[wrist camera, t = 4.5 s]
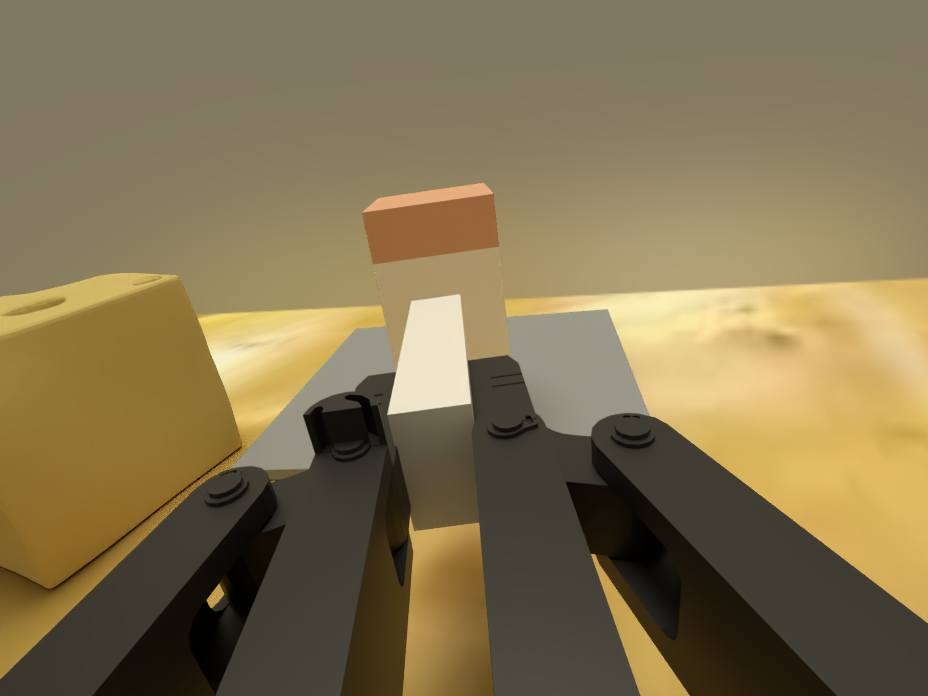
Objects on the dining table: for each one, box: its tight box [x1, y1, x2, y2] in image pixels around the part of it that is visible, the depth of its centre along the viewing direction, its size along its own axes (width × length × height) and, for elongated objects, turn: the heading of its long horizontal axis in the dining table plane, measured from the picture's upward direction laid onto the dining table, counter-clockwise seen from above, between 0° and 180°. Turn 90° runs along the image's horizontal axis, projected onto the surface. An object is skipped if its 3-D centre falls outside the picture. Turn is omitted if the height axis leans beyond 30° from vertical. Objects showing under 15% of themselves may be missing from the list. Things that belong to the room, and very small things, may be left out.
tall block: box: [362, 183, 510, 371], centre depth 22 cm, size 5×5×11 cm
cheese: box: [0, 273, 242, 589], centre depth 22 cm, size 10×11×10 cm
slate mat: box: [231, 309, 649, 480], centre depth 29 cm, size 20×18×1 cm
